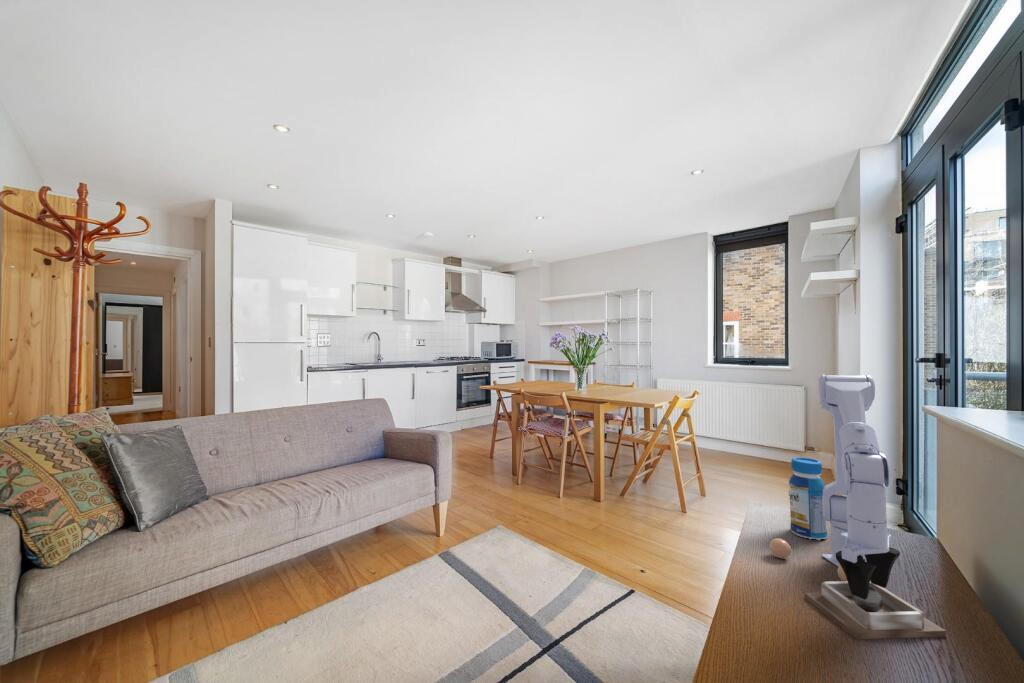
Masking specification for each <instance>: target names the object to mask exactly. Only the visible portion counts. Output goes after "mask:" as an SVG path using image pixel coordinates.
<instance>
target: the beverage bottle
mask: <svg viewBox="0 0 1024 683" xmlns="http://www.w3.org/2000/svg"><path fill="white" fill-rule="evenodd" d="M790 463H791V470H792V472H793V474H792V475H791V476H790V477H789V480H788V486H790V487H789V489H788V496H789V510H790V512H789V513H790V524H789V526H790V527H789V528H790V531H791V532H792V533H793V535H796V536H798V537H800V538H803V537H804V538H803V539H806V538H809V539H808V540H811V539H817V540H816V541H822V540H821V539H824V540H826V539H827V538H828V528H827V525H828V524H827V520H826V519H825V518H824V516H823V506H822V496H823V489H824V487H825V486H826V484H825V482H824V480H823V478H821V476H822V473H823V465H822V462H821V461H820V460H818V459H814V458H809V457H793V458H791V462H790ZM825 538H826V539H825Z"/></svg>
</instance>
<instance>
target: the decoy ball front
mask: <svg viewBox="0 0 1024 683" xmlns="http://www.w3.org/2000/svg"><path fill="white" fill-rule="evenodd" d="M769 550H770V552H771V554H772V555H773V556H775V557H776V558H779V559H783V560H784V559H787V558H789V557H790V556H791V554H792V548H791V546H790V544H789V542H787V541H786V540H785V539H783V538H773V539H772V540H771V541H770V542H769Z"/></svg>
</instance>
